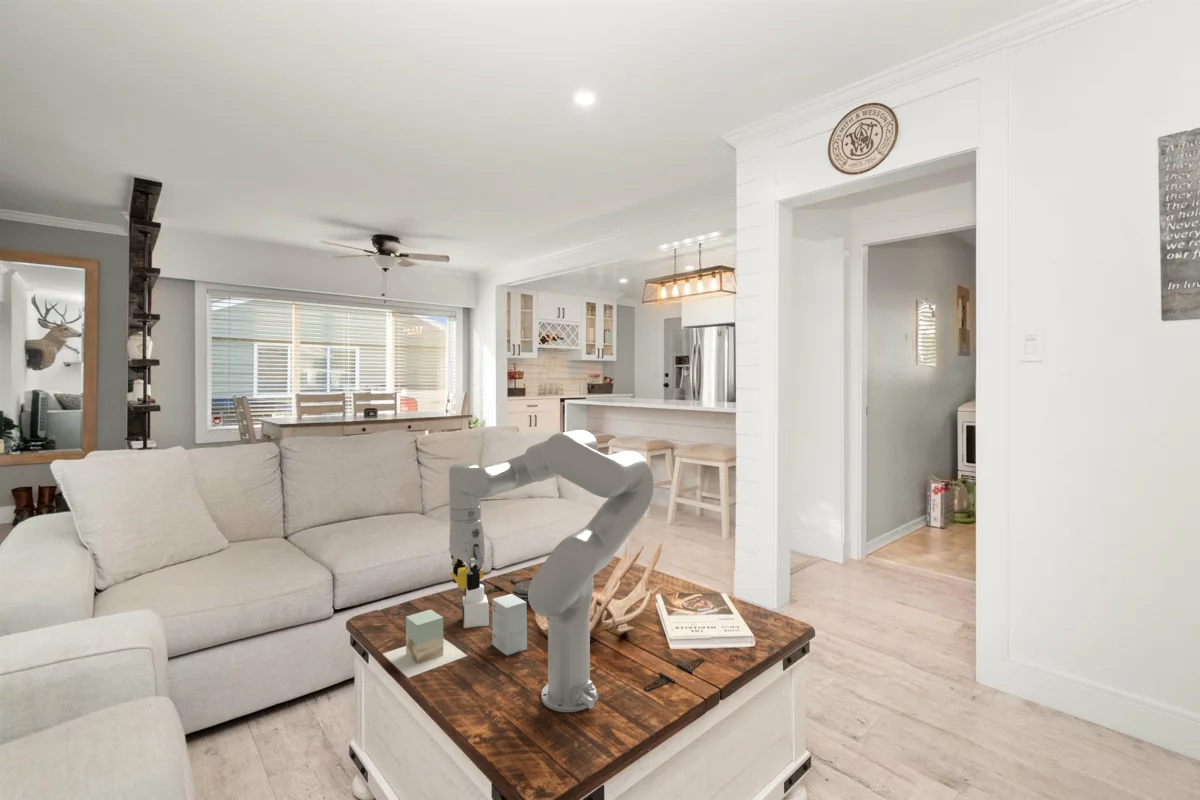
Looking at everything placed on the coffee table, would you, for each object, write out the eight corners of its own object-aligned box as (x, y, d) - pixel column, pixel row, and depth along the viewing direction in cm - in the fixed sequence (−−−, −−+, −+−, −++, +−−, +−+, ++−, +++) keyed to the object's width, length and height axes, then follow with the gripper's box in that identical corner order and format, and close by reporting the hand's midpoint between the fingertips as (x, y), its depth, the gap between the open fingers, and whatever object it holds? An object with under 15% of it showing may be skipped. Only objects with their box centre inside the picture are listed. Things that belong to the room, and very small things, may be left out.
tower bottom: (443, 655, 146) (443, 636, 145) (417, 664, 141) (417, 644, 141) (431, 645, 151) (431, 627, 151) (406, 654, 146) (406, 635, 146)
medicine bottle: (462, 619, 168) (461, 580, 168) (486, 616, 170) (485, 577, 170) (463, 629, 161) (463, 588, 161) (488, 626, 164) (488, 585, 163)
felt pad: (467, 657, 145) (467, 655, 145) (408, 679, 135) (408, 677, 134) (439, 636, 157) (439, 634, 157) (382, 655, 146) (382, 653, 146)
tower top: (443, 636, 145) (443, 617, 145) (417, 644, 141) (417, 625, 140) (431, 627, 151) (431, 609, 150) (406, 635, 146) (405, 616, 146)
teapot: (450, 594, 135) (449, 572, 135) (450, 585, 140) (450, 565, 140) (484, 590, 137) (483, 569, 137) (482, 582, 142) (482, 562, 142)
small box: (527, 649, 149) (527, 601, 149) (506, 657, 145) (506, 608, 145) (512, 638, 156) (511, 592, 155) (491, 645, 152) (491, 598, 151)
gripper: (497, 517, 134) (498, 590, 135) (461, 505, 147) (462, 573, 148) (469, 522, 129) (470, 599, 130) (435, 510, 142) (436, 580, 143)
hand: (466, 584), depth 139 cm, fingers closed on teapot, 6 cm apart
